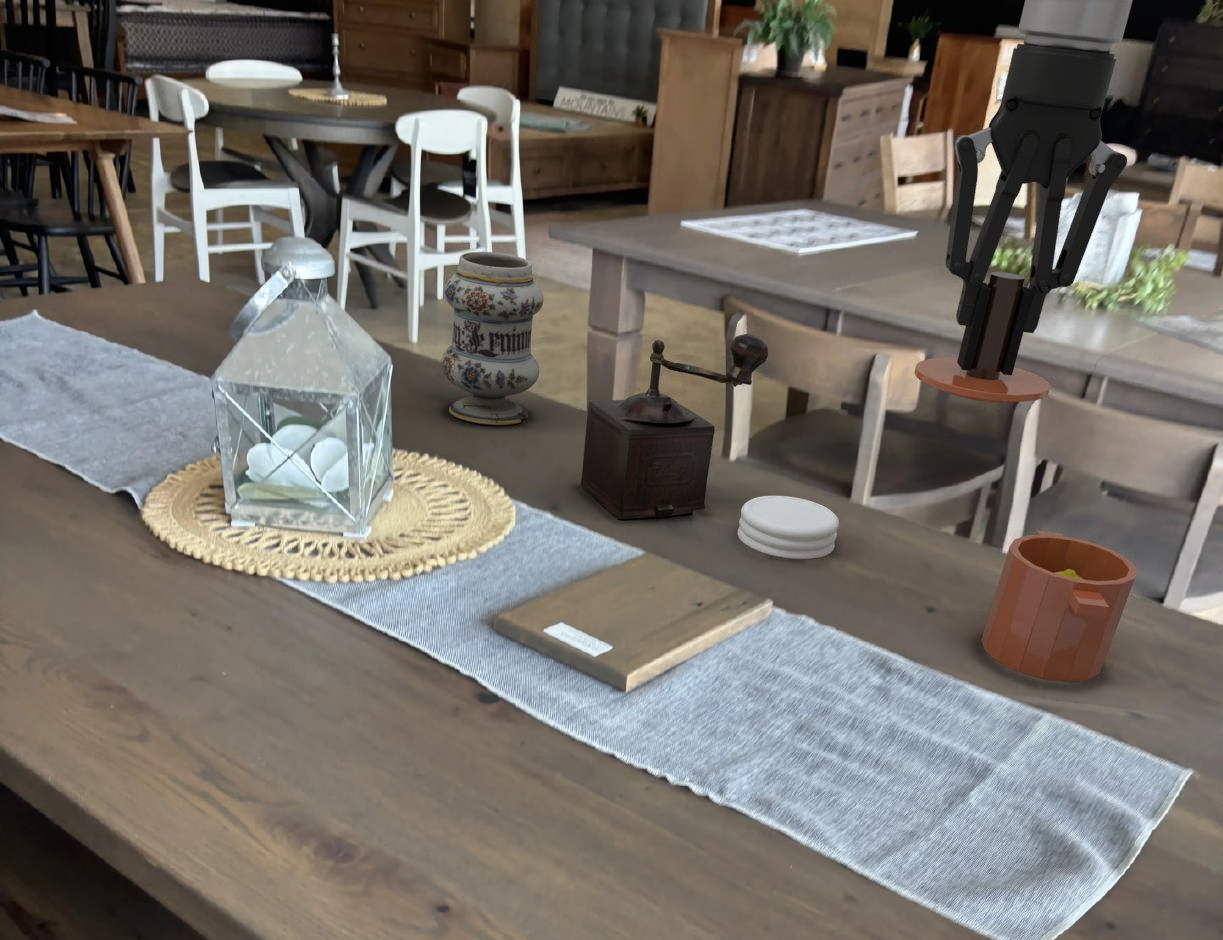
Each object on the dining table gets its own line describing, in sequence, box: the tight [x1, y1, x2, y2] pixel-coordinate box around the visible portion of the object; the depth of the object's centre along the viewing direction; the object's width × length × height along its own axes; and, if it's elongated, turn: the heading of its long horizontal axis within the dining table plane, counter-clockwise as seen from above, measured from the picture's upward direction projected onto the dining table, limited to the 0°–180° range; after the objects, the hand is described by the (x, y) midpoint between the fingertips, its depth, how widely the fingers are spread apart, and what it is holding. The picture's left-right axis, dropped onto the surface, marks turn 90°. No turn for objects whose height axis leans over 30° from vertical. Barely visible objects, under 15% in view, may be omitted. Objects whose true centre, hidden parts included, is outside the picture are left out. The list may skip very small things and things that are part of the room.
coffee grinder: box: [580, 333, 769, 520], centre depth 126 cm, size 16×11×18 cm
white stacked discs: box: [737, 495, 840, 560], centre depth 122 cm, size 10×10×4 cm
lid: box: [914, 271, 1051, 404], centre depth 101 cm, size 11×11×9 cm
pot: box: [980, 530, 1138, 683], centre depth 104 cm, size 10×16×10 cm, turn 175°
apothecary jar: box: [440, 251, 545, 426], centre depth 145 cm, size 12×12×18 cm
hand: (984, 368), depth 103 cm, fingers closed on lid, 3 cm apart
